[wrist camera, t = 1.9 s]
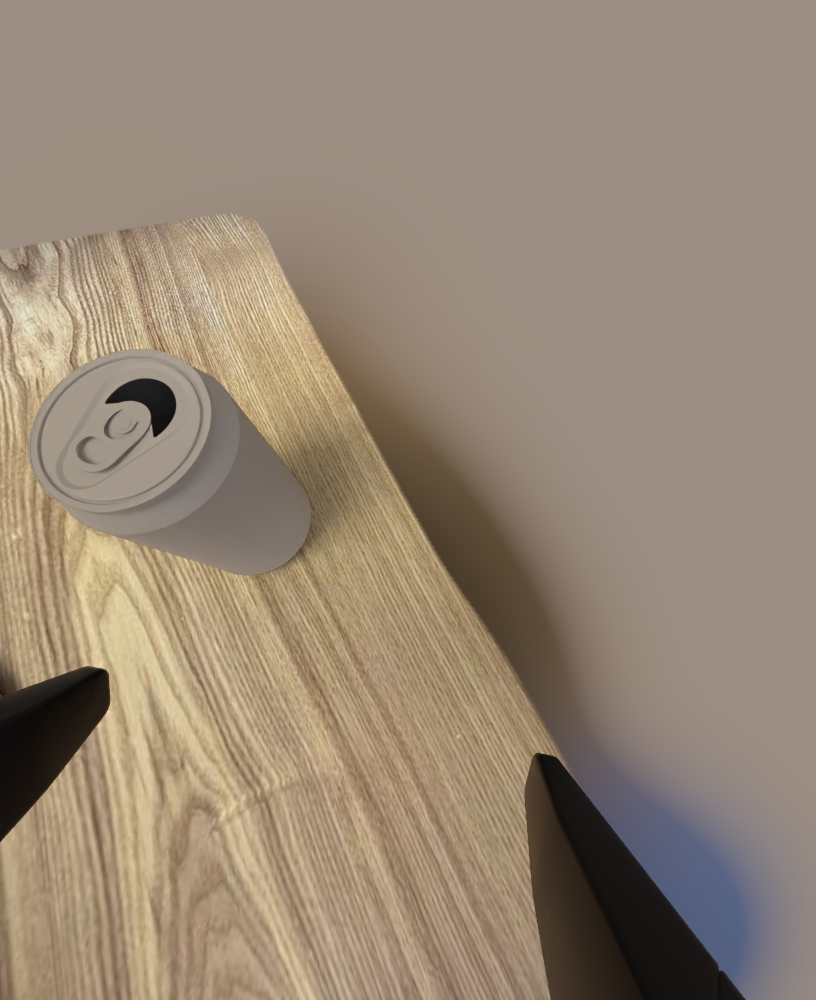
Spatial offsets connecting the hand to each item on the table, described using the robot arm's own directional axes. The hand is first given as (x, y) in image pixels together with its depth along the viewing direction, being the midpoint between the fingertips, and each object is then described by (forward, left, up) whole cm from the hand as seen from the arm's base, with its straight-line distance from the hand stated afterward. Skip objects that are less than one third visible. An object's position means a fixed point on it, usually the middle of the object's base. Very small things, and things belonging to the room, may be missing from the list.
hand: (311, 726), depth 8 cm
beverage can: (+1, +11, -14) cm, 17 cm away
